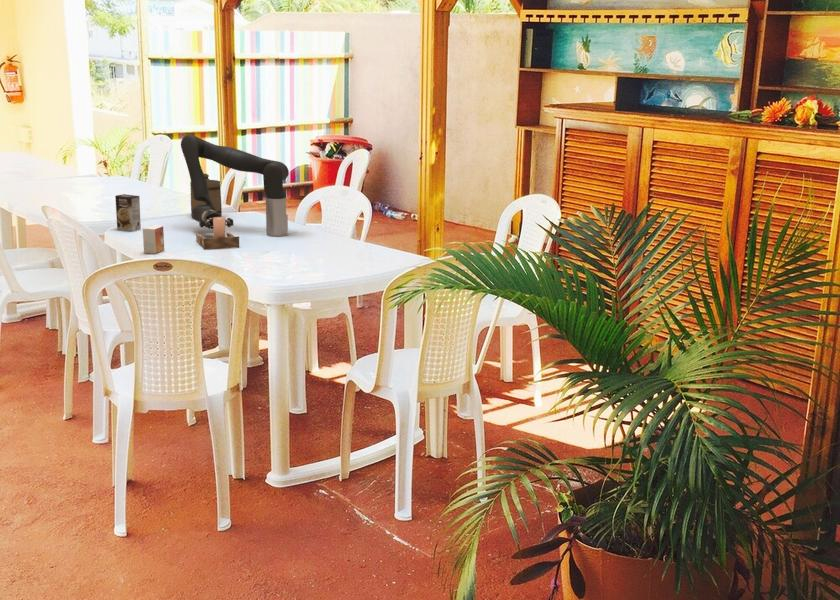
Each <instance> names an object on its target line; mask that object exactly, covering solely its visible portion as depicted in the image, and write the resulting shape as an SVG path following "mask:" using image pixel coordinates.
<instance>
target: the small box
mask: <svg viewBox="0 0 840 600" xmlns="http://www.w3.org/2000/svg"><path fill="white" fill-rule="evenodd" d="M142 237H143V253H144V254H152V255H156V254H159V253H160V251H161V252H163V250H164V251H165V234H164V225H149V226H147V227H144V228H142ZM158 252H159V253H158Z"/></svg>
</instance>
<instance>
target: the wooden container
mask: <svg viewBox="0 0 840 600" xmlns="http://www.w3.org/2000/svg"><path fill="white" fill-rule="evenodd" d="M204 176H205V178H206V181H207V186H208V192H209V196H210V199H211V201H212V204H213V205H214V207H215V210H216V212H217V213H218V214H220V216H221V217H223V213H222V192H221V181H220V180H217V179H210V178H209V177H210V176H209V174H208V173H204ZM189 183H190V185H189V186H190V213H191V219H193V220H195V219H194V218H193V215H192V210H193V208H194V207H195V206H200V205H206V203H205V202H203V201H197V200H195V199H194V196H193V190H192V184H191V181H190V182H189Z"/></svg>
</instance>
